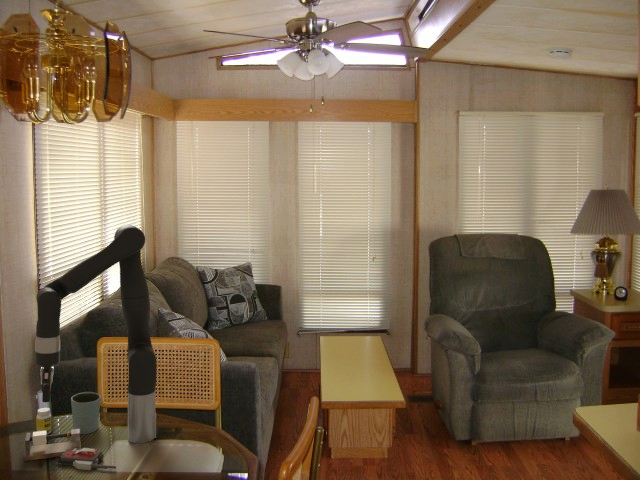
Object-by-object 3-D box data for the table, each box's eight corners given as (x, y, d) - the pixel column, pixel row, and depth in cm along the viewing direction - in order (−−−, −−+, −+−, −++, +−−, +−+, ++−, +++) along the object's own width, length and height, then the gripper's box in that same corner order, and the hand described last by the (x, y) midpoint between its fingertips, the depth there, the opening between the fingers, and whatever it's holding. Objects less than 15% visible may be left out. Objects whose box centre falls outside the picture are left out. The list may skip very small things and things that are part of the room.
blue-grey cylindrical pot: (80, 421, 231) (80, 390, 230) (106, 424, 230) (106, 393, 228) (65, 433, 221) (65, 401, 220) (92, 436, 220) (92, 403, 218)
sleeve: (46, 440, 207) (46, 430, 207) (46, 444, 204) (46, 434, 204) (33, 441, 206) (33, 431, 205) (32, 446, 203) (32, 436, 202)
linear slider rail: (80, 444, 213) (80, 426, 213) (80, 453, 207) (80, 434, 206) (25, 451, 207) (25, 432, 206) (24, 460, 201) (23, 441, 200)
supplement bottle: (45, 436, 219) (45, 413, 218) (33, 434, 220) (33, 411, 218) (54, 430, 223) (53, 407, 222) (42, 428, 224) (41, 406, 223)
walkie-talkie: (52, 468, 197) (114, 473, 196) (52, 455, 197) (114, 460, 195) (66, 455, 206) (125, 460, 205) (65, 442, 205) (125, 447, 204)
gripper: (59, 355, 197) (58, 404, 199) (60, 342, 210) (59, 388, 212) (33, 356, 195) (32, 406, 196) (36, 343, 208) (35, 390, 210)
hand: (46, 397), depth 204 cm, fingers open, 8 cm apart
